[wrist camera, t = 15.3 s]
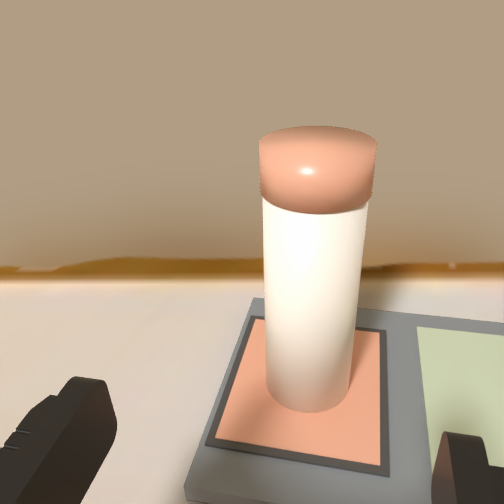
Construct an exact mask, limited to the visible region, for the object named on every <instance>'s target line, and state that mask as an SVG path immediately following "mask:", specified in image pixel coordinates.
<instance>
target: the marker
mask: <svg viewBox="0 0 504 504" xmlns="http://www.w3.org/2000/svg"><path fill="white" fill-rule="evenodd" d="M376 150H377V142H376V141H375V139H373V138H372V137H371V136H369V135H367V134H365V133H362V132H359V131H356V130H351V129H347V128H340V127H330V126H302V127H293V128H286V129H282V130H278V131H275V132H272V133H269V134H267V135H266V136H264V137H263V138H262V139H261V140H260V142H259V157H260V158H259V160H260V192H261V195H262V197H263V238H264V239H263V244H264V300H265V356H266V385H267V388H268V391H269V393H270V394H271V396H272V397H273V398H274V399H275V400H276V401H277V402H278V403H280V404H281V405H283V406H284V407H286V408H289V409H291V410H294V411H298V412H303V413H318V412H323V411H326V410H329V409H331V408H333V407H335V406H337V405H338V404H339V403H340V402H342V400H343V399H344V398H345V396H346V395H347V392H348V388H349V380H350V371H351V361H352V352H353V342H354V333H355V324H356V314H357V305H358V295H359V286H360V276H361V267H362V257H363V247H364V239H365V229H366V219H367V210H368V200H369V199H370V197H371V194H372V187H373V178H374V169H375V160H376Z"/></svg>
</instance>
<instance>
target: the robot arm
mask: <svg viewBox="0 0 504 504" xmlns="http://www.w3.org/2000/svg"><path fill="white" fill-rule="evenodd" d="M116 431H117V420H116V416H115V412H114V409H113V405H112V402H111V398H110V395H109V391H108V388H107V385H106V383H105V381H103V380H98V379H91V378H84V377H77V376H75V377H72V378H71V379H70V380H69V381H68V382H67V383H66V384H65V386H64V387H63V388H62V390H61V391H60V393H59V394H58V395H57V396H54V395H49V396H48V397H47V398H45V399H44V400H43V401H41V402H40V403H39V404H37V405H36V406H35V407H34V408H32V409H31V410H30V411H29V412H28V414H27V415H26V416H25V417H24V419H23V420H22V421H21V423H20V424H19V425H18V427H17V428H16V431H15V432H13V433H12V434H11V436H10V437H9V438H8V439H7V441H6V442H5V443H4V447H3V448H0V504H80V503H81V501H82V499H83V498H84V496H85V494H86V492H87V490H88V489H89V487H90V485H91V483H92V481H93V479H94V478H95V476H96V474H97V472H98V470H99V469H100V467H101V465H102V463H103V461H104V459H105V458H106V456H107V454H108V452H109V450H110V448H111V447H112V445H113V442H114V439H115V436H116ZM431 502H432V504H504V467H498V466H492V465H489V462H488V458H487V453H486V449H485V445H484V441H483V439H482V438H481V437H480V436H474V435H467V434H460V433H454V432H447V431H444V432H443V433H442V436H441V440H440V444H439V449H438V453H437V457H436V461H435V465H434V469H433V474H432V483H431Z"/></svg>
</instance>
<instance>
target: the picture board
mask: <svg viewBox="0 0 504 504" xmlns="http://www.w3.org/2000/svg"><path fill="white" fill-rule="evenodd" d="M444 431H447V432H454V433H460V434H467V435H474V436H480V437H481V438H482V439H483V441H484V445H485V449H486V453H487V458H488V462H489V465H492V466H498V467H504V323H499V322H489V321H480V320H470V319H460V318H450V317H440V316H430V315H420V314H411V313H401V312H391V311H381V310H371V309H361V308H357V314H356V324H355V333H354V342H353V352H352V361H351V371H350V380H349V388H348V392H347V395H346V396H345V398H344V399H343V400H342V402H340V403H339V404H338V405H337V406H335V407H333V408H331V409H329V410H326V411H323V412H318V413H303V412H298V411H294V410H291V409H289V408H286V407H284V406H283V405H281V404H280V403H278V402H277V401H276V400H275V399H274V398H273V397H272V396H271V394H270V393H269V391H268V388H267V385H266V356H265V300H264V299H263V298H253V300H252V303H251V306H250V308H249V311H248V314H247V316H246V319H245V322H244V325H243V327H242V330H241V333H240V335H239V338H238V341H237V343H236V346H235V349H234V352H233V354H232V357H231V360H230V362H229V365H228V368H227V370H226V373H225V376H224V379H223V381H222V384H221V387H220V389H219V392H218V395H217V397H216V400H215V403H214V406H213V408H212V411H211V414H210V416H209V419H208V422H207V424H206V427H205V430H204V432H203V435H202V438H201V441H200V443H199V446H198V449H197V451H196V454H195V457H194V459H193V462H192V465H191V468H190V470H189V473H188V476H187V478H186V481H185V484H184V489H185V495H186V499H188V500H193V501H198V502H203V503H208V504H432V502H431V483H432V474H433V469H434V465H435V461H436V457H437V453H438V449H439V444H440V440H441V436H442V433H443V432H444Z"/></svg>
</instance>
